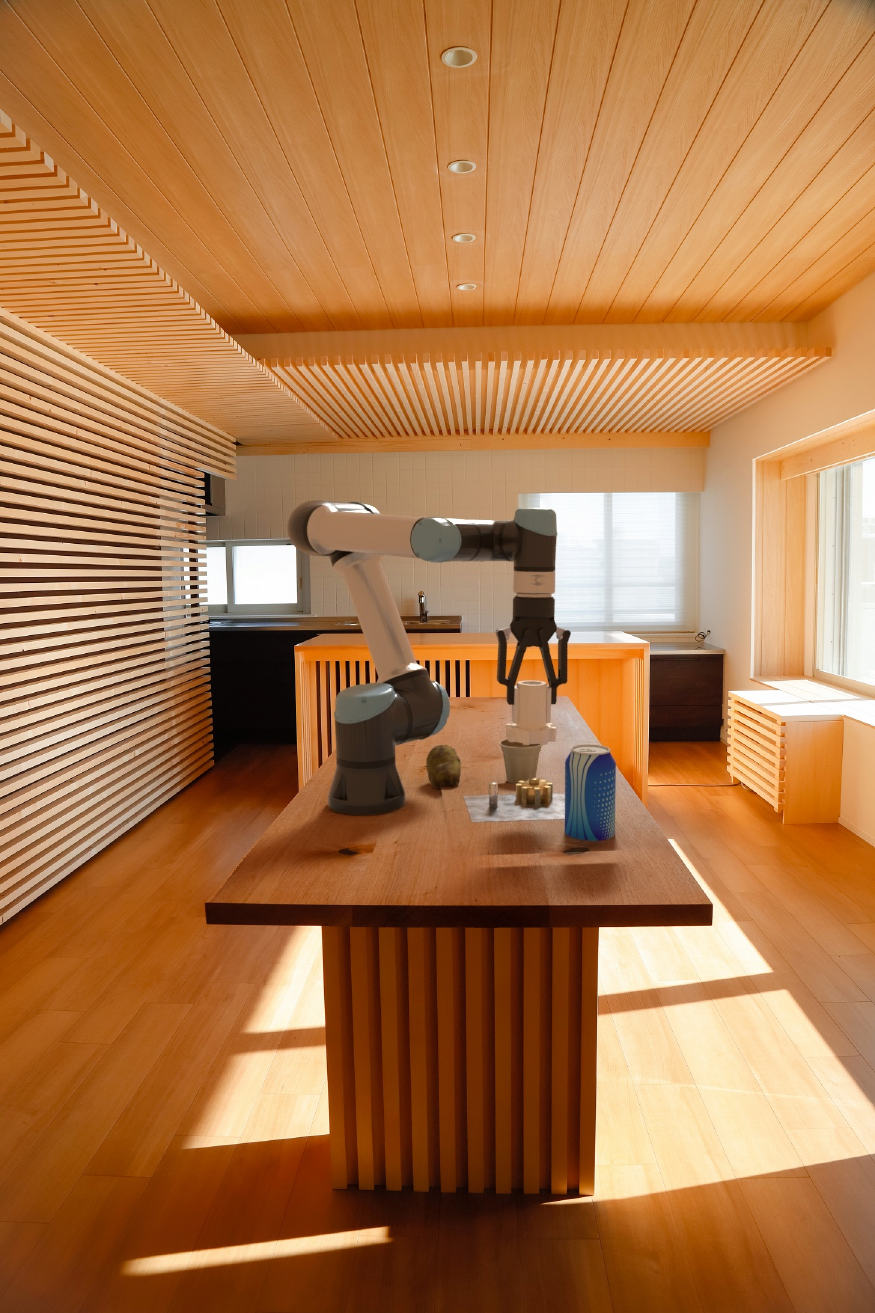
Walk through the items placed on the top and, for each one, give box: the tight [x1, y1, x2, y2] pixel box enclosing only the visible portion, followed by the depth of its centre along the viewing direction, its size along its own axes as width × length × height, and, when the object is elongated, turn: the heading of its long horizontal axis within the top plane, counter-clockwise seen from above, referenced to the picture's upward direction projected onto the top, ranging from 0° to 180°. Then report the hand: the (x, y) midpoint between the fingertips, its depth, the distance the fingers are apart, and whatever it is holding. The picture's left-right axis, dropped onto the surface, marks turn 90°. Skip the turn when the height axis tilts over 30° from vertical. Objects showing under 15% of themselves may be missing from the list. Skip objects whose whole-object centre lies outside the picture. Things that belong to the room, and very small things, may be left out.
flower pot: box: [498, 738, 544, 785], centre depth 174 cm, size 9×9×9 cm
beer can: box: [564, 743, 617, 842], centre depth 136 cm, size 8×8×16 cm
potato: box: [425, 744, 462, 790], centre depth 171 cm, size 8×13×8 cm, turn 170°
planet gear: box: [505, 680, 558, 746], centre depth 147 cm, size 9×9×10 cm
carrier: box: [462, 777, 565, 823], centre depth 151 cm, size 22×16×6 cm
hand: (530, 721), depth 148 cm, fingers closed on planet gear, 5 cm apart
